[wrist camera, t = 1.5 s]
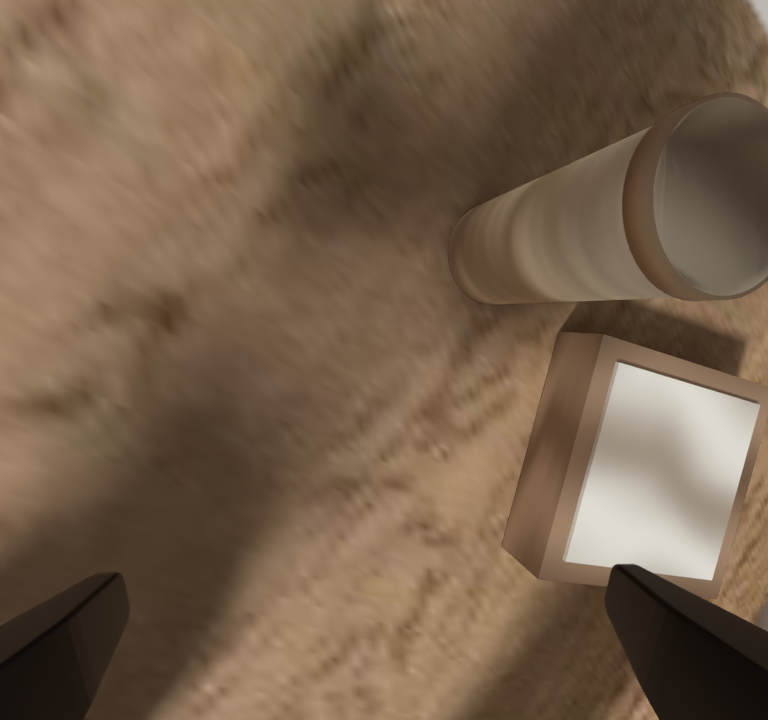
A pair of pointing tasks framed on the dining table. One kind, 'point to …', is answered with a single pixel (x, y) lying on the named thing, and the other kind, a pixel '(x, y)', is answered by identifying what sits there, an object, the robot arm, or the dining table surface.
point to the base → (635, 466)
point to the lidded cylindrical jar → (632, 217)
